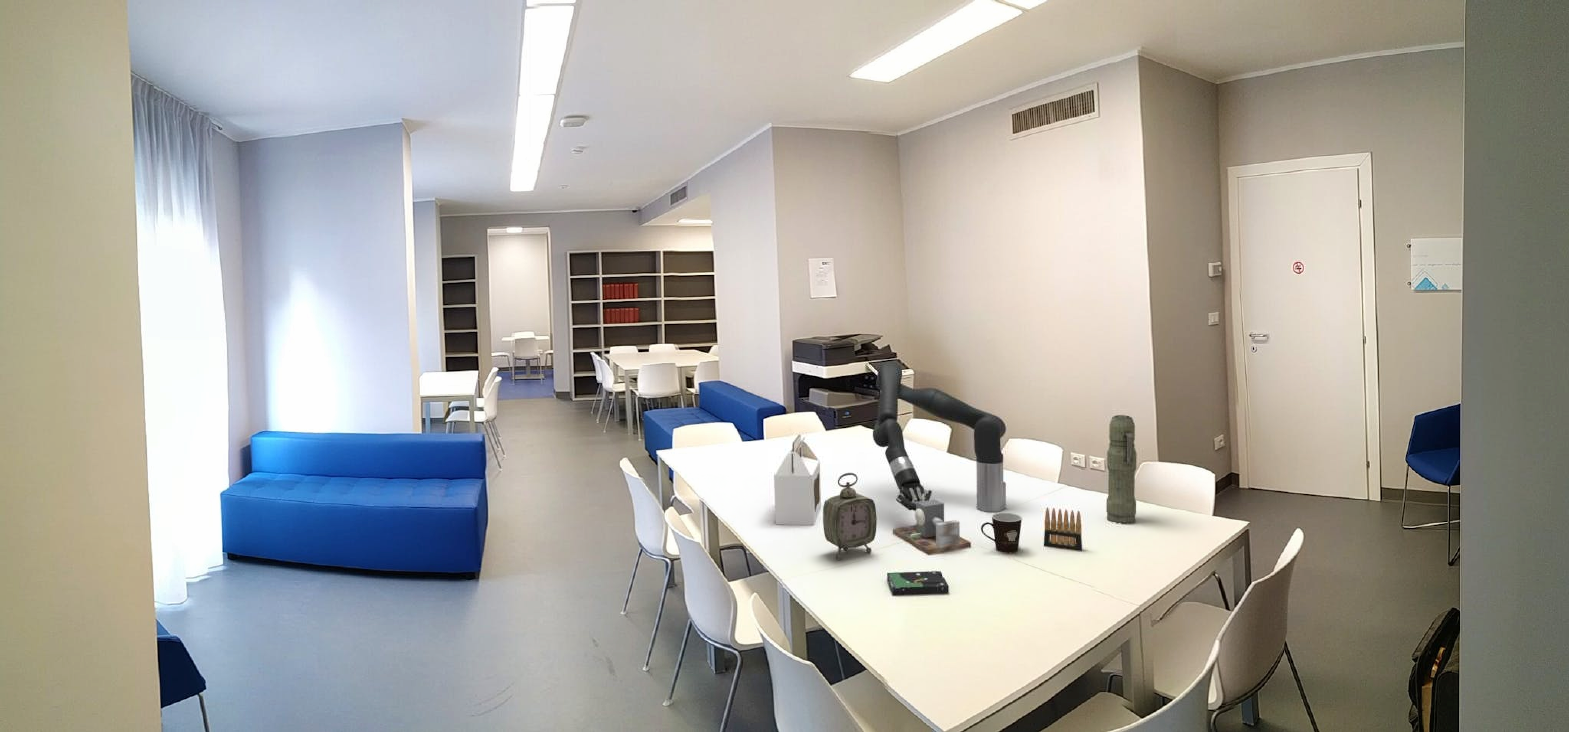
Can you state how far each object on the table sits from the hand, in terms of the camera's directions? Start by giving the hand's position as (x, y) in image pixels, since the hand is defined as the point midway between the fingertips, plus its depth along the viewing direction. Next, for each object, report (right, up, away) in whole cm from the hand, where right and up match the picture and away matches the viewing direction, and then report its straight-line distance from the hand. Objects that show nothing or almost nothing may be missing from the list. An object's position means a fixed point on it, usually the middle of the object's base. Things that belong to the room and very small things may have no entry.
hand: (924, 519), depth 230 cm
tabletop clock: (-25, -8, -12) cm, 29 cm away
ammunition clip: (+39, -6, -13) cm, 42 cm away
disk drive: (-9, -11, -38) cm, 40 cm away
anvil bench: (+2, -6, -2) cm, 7 cm away
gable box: (-39, -5, +28) cm, 48 cm away
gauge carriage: (0, -4, -4) cm, 6 cm away
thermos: (+68, -3, +11) cm, 69 cm away
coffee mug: (+21, -7, -12) cm, 25 cm away
